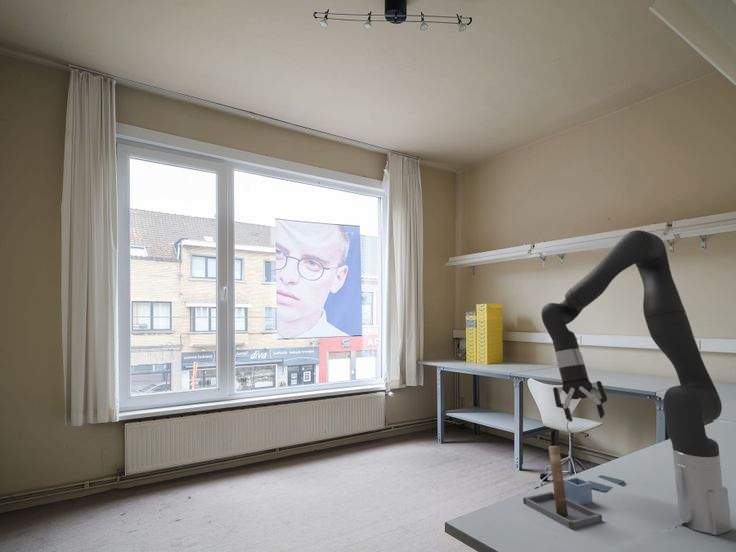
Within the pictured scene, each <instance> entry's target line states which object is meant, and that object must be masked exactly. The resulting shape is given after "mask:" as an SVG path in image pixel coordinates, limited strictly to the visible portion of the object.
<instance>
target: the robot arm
mask: <svg viewBox="0 0 736 552" xmlns="http://www.w3.org/2000/svg"><path fill="white" fill-rule="evenodd" d="M666 248H667V247H666V245H665V243H664V241H663V239H661V237H660V236H658V235H656V234H653V233H651V232H648V231H645V230H641V229H639V230H638V229H636V230H632V231H629V232H627V233H626V234H625V235H624V236H622V237H621V239H620V240H619V241H617V243H616V244H615V245H614V246H613V247H612V249H611V250H610V251H609V252H608V253H607V254H606V255H605V256H604V257H603V258H602V259H601V260H600V262H599V263H598V264H597V265H596V266H594V268H592V270H591V271H590V272H589V273H587V274H586V275H585V276H584V277H583V278H581V279H580V280H579V281H578V282H576V283H575V284H574V285H573V286H572V287H571V288H569V290H567V291H566V292H565V295H564V298H565V299H564V300H562V301H561V302H560V303H557V302H548V303H546V304H544V306H543V307H542V309H541V312H540V313H541V319H542V323H543V325H544V328H545V330H546V331H547V333H548V335H549V337H550V338H551V341H552V345H553V349H554V352H555V357H556V363H557V367H558V371H559V374H560V378H561V381H562V386H560V387H556V386H555V387H553V389H552V391H553V396H554V401H555V406H556V407H557V408H561V409H563V412H564V416H565V419H566V421H569V422H573V417H572V412H571V410H570V408H569V406H570V405H571V402H572V401H573V400H579V399H587V398H589V399H590V400H591V401H593V402H594V403H595V404H596V409H597V411H598V415H599V419H604V416H605V415H606V413H605V409H604V406H603V404H604V403H606V402H607V401H608V400H609V398H608V397H607V394H606V390H605V388H604V385H603V383H602V381H600V380H597V381H595V382H591V381H590V379H589V376H588V372H587V369H586V364H585V361H584V358H583V355H582V354H583V353H582V352H581V351H580V347H579V343H578V339H577V336H576V334H575V333H574V332H573V331H571V330H570V329H569V328H568V326H567V325H568V324H570V323H572V322H573V321H574V320H575V319H576V318H577V317H578V316H579V315H580V314H581V312H582V311H583V310H584V309H585V308H586V307H587V306H590V305H591V303H593V302H594V301H595V300H597V299H598V298H599V297H600V296H601V295H602V294H603V293H604V292H605V291H606V289H608V287H609V285H610V284H611V282H612V281H613V280H614V279H615V278H616V277H617V276H618V275H619V274H621V273H622V272H623V271H624V270H626V269H628V268H630V267H632V266H633V265H635V267H636V268H637V270H638V273H639V275H640V278H641V281H642V285H643V299H642V300H643V301H642V305H643V306H642V308H643V316H644V319H645V322H646V326H647V329H648V333H649V335H650V337H651V339H652V341H653V342H654V343H655V345H656V346H657V347H658V348H659V350H660V351H661V352H662V353H663V354H664V355H665V356H666V358H667V359H668V360H669V361H670V362H671V364H672V366H673V367H674V369H675V372H676V376H677V378H678V381H679V384H680V385H675V386H671V387H669V388H668V389H667V390H666V391H665V393H664V396H663V413H664V420H665V426H666V433H667V435H668V437H669V440H670V442H671V446H672V447H671V448H672V457H673V468H674V478H675V479H674V480H675V488H676V489H675V490H676V499H677V500H676V501H677V508H678V510H677V511H678V518H679V519H680V521H682V523H681V524H682V525H683V526H684V527H687V528H688V529H691V530H694V531H698V532H701V533H706V534H710V535H713V536H718V535H722V534H725V533H728V532H731V531H732V520H731V512H730V511H731V510H730V501H729V493H728V492H729V491H728V488H727V487H725V486H723V478H722V465H721V456H720V446H719V444H718V441H717V440H716V441H715V440H714V439H713V438H710V437H708V436H707V431H706V428H705V427H706V426H705V423H708V422H709V423H710V422H714V421H715V420H717V419H719V417H721V414H722V410H723V407H722V406H723V405H722V404H723V403H722V400H721V398H720V395H719V392H718V390H717V388H716V386H715V384H714V382H713V380H712V378H711V376H710V374H709V371H708V370H707V367H706V365H705V363H704V360H703V358H702V355H701V352H700V349H699V346H698V344H697V342H696V339H695V336H694V333H693V330H692V327H691V323H690V321H689V318H688V315H687V312H686V309H685V307H684V304H683V301H682V300H681V296H680V293H679V290H678V288H677V286H676V284H675V281H674V279H673V275H672V272H671V267H670V262H669V258H668V253H667V249H666ZM593 387H594V388H595V389H596V390H598V391H599V395H600V397H601V398H600V399H599V398H598V397H597V396H596V395H595V394H593V393H592V392H591V391H592V389H593ZM562 391H563V392H564V393H565V394H566V395H567V396H566V398H565V400H564V402H563V403H562V400H561V395H562V393H563V392H562Z"/></svg>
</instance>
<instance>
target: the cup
mask: <svg viewBox="0 0 736 552" xmlns="http://www.w3.org/2000/svg"><path fill="white" fill-rule="evenodd" d="M563 480H564V488H565V496H566V499H569V500H571V501H573V502H575V503H577V504H579V505H582V506H584V505H585V506H586V505H588V504H592V503H593V491H592V489H591V483H590V482H588V480H585V479H582V478H580V477H571V478H567V479H563Z"/></svg>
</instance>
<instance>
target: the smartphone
mask: <svg viewBox="0 0 736 552" xmlns="http://www.w3.org/2000/svg"><path fill="white" fill-rule="evenodd" d="M597 478H600V479H602V480H605V481H608V482H610V483H612V484H616V485H619V486H621V487H622V486H624V485H626V481H625V480H623V479H619V478H615V477H610V476H606V475H602V474H600V475H598V476H597ZM587 482H590V483H591V489H592V490H593V491H596V492H599V493H605V494H606V493H608V492H609V491H611V490H612V489H613V488H614V487H613V486H610V485H605V484H602V483H599V482H595V481H592V480H587Z"/></svg>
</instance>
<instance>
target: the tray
mask: <svg viewBox="0 0 736 552" xmlns="http://www.w3.org/2000/svg"><path fill="white" fill-rule="evenodd" d="M522 501H523V502H522V503H523V504H524V505H525V506H527V507H529V508H531V509H532V510H534V511H537V512H539V513H541V514H542V515H544V516H547V517H548V518H550V519H552V521H553V520H554V521H556V522H557V523H559V524H561V525H563V526H564V527H566V528H568V529H570V530H575V529H578V528H582V527H586V526H589V525H590V526H591V525H594V524H596V523H600V522H603V515H602V514H601V513H598V512H596V511H594V510H592V509H590V508H588V507H585V506H584V505H579V504H577V503H575V502H573V501H571V500H569V499H566V504H567V512H568V515H559V514H557V512H556V504H555V496H554V491H548V492H544V493H538V494H535V495H529V496H525V497H523V498H522Z"/></svg>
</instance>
